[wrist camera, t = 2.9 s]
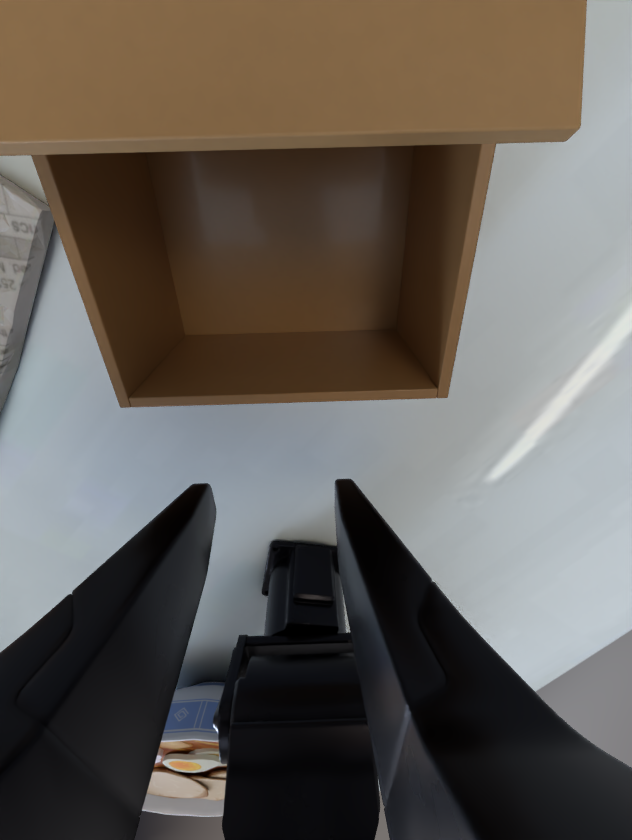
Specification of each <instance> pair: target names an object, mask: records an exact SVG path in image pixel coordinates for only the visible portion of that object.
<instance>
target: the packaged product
mask: <svg viewBox="0 0 632 840" xmlns="http://www.w3.org/2000/svg"><path fill="white" fill-rule="evenodd" d="M53 224H54V218H53V215H52V213H51V210H50V207H49V206H48V205H46V204H44V203H43V202H41V201H40V200H38V199H37V198H35V197H34V196H32V195H31V194H29V193H27V192H26V191H24V190H23V189H21V188H20V187H18V186H17V185H15V184H14V183H12V182H11V181H9V180H7V179H6V178H4V177H3V176H1V175H0V413H1V411H2V408H3V405H4V403H5V400H6V397H7V395H8V392H9V389H10V387H11V384H12V381H13V379H14V376H15V373H16V371H17V368H18V365H19V362H20V357H21V353H22V348H23V344H24V340H25V335H26V331H27V327H28V323H29V319H30V315H31V311H32V307H33V303H34V299H35V295H36V291H37V287H38V283H39V279H40V275H41V271H42V268H43V264H44V260H45V256H46V252H47V248H48V244H49V240H50V236H51V232H52V228H53Z"/></svg>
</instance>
